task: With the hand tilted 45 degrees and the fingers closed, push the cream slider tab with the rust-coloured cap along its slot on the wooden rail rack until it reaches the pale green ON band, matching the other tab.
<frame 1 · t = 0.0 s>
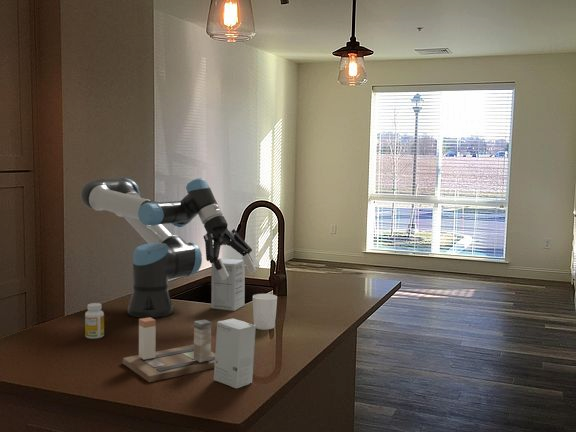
hand: (240, 275, 206), 15 cm above the counter, tool tilted 35°, fingers open, 13 cm apart
supplement bottle: (94, 336, 186), on the counter
skincare box: (234, 382, 152), on the counter
supplement box: (227, 307, 225), on the counter
wooden rail rack: (174, 364, 163), on the counter
tab a: (147, 338, 162), point 7 cm above the counter, slide at 0.0 cm
white cup: (264, 327, 201), on the counter
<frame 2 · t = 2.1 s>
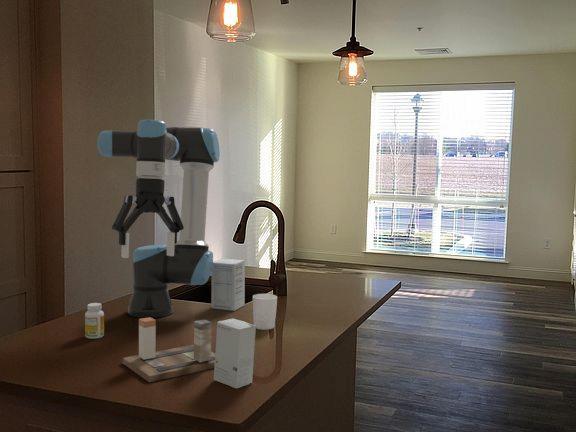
hand: (148, 256, 168), 27 cm above the counter, tool pointing down, fingers open, 13 cm apart
nothing on the counter moved.
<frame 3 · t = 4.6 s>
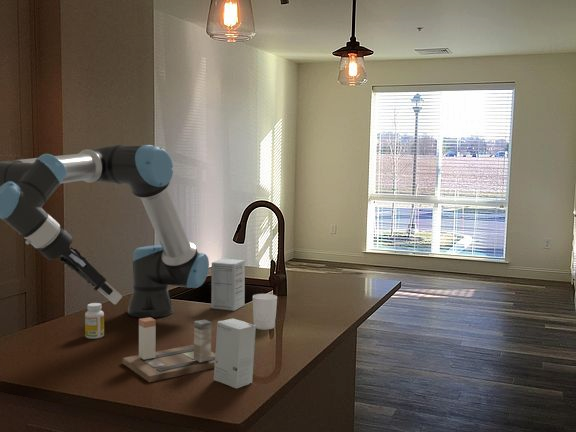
hand: (117, 299, 156), 18 cm above the counter, tool tilted 45°, fingers closed
nothing on the counter moved.
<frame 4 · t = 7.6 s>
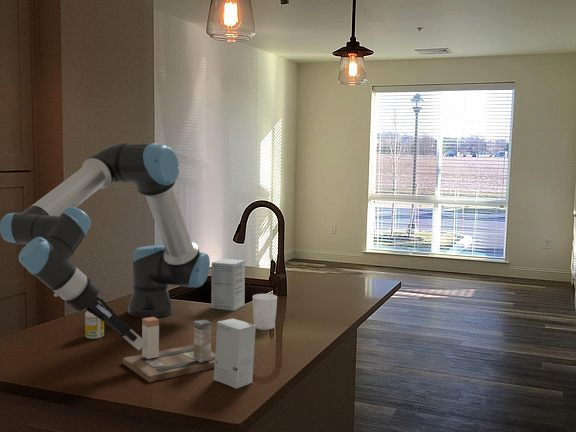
hand: (141, 345, 161), 6 cm above the counter, tool tilted 45°, fingers closed
tab a: (150, 337, 163), point 7 cm above the counter, slide at 1.0 cm, touching gripper
everything else where it was.
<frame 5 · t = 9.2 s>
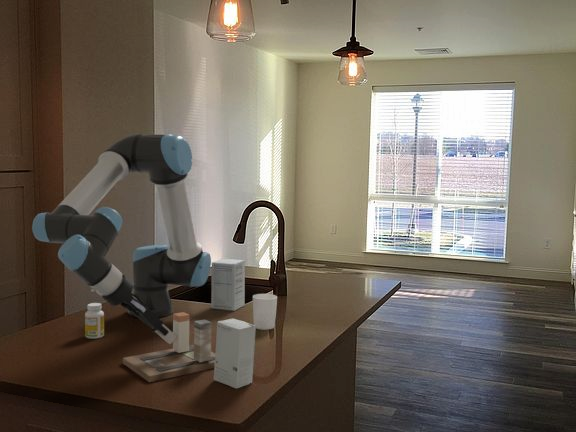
hand: (172, 339, 166), 6 cm above the counter, tool tilted 45°, fingers closed
tab a: (181, 332, 168), point 7 cm above the counter, slide at 9.9 cm, touching gripper
everything else where it was.
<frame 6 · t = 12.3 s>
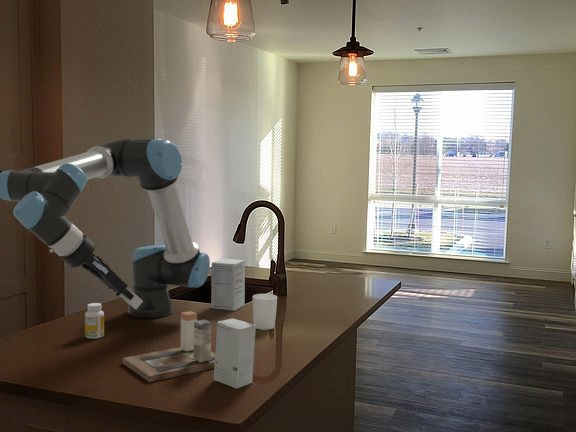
hand: (138, 304, 160), 16 cm above the counter, tool tilted 45°, fingers closed
tab a: (188, 331, 170), point 7 cm above the counter, slide at 12.2 cm
everything else where it was.
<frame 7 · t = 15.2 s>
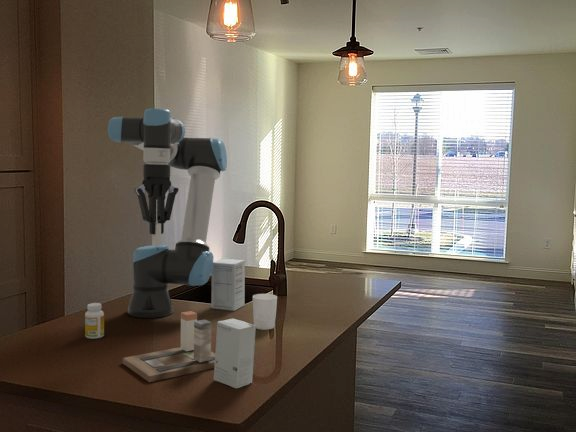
hand: (156, 245, 180), 28 cm above the counter, tool pointing down, fingers closed
nothing on the counter moved.
at the end: tab a slide at 12.2 cm; tab a moved 12.2 cm from its start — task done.
